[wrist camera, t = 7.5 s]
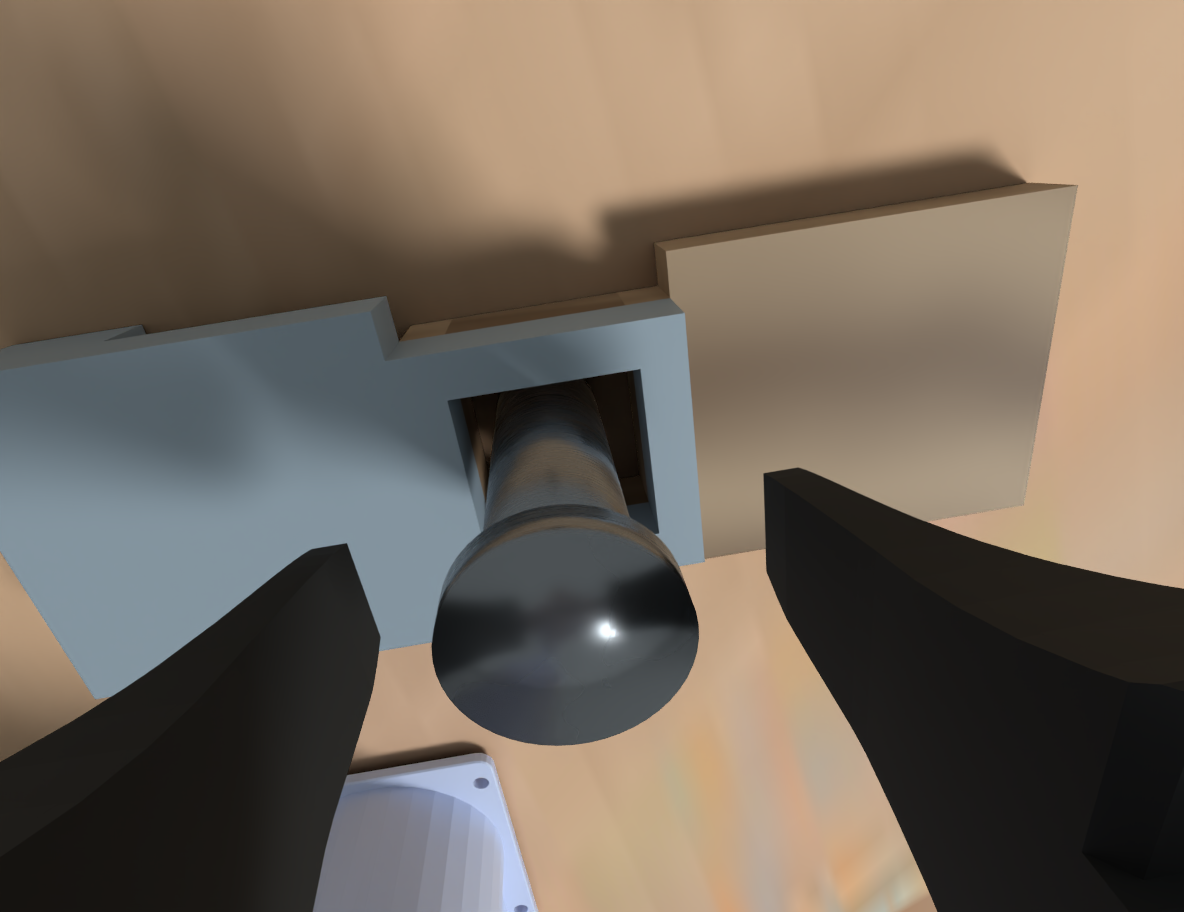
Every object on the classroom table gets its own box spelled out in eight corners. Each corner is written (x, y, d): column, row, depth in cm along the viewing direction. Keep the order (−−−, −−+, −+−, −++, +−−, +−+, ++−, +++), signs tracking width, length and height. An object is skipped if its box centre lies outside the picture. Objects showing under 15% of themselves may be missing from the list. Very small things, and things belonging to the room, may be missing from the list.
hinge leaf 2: (988, 479, 19) (1023, 505, 17) (474, 566, 18) (470, 598, 17) (1029, 182, 15) (1077, 185, 14) (399, 283, 15) (386, 296, 14)
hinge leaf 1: (681, 531, 19) (707, 595, 16) (159, 618, 18) (95, 699, 16) (653, 242, 15) (681, 261, 12) (11, 345, 15) (-105, 387, 12)
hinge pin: (625, 462, 17) (708, 719, 10) (494, 486, 17) (468, 765, 9) (605, 333, 16) (686, 511, 8) (461, 359, 16) (398, 566, 8)
